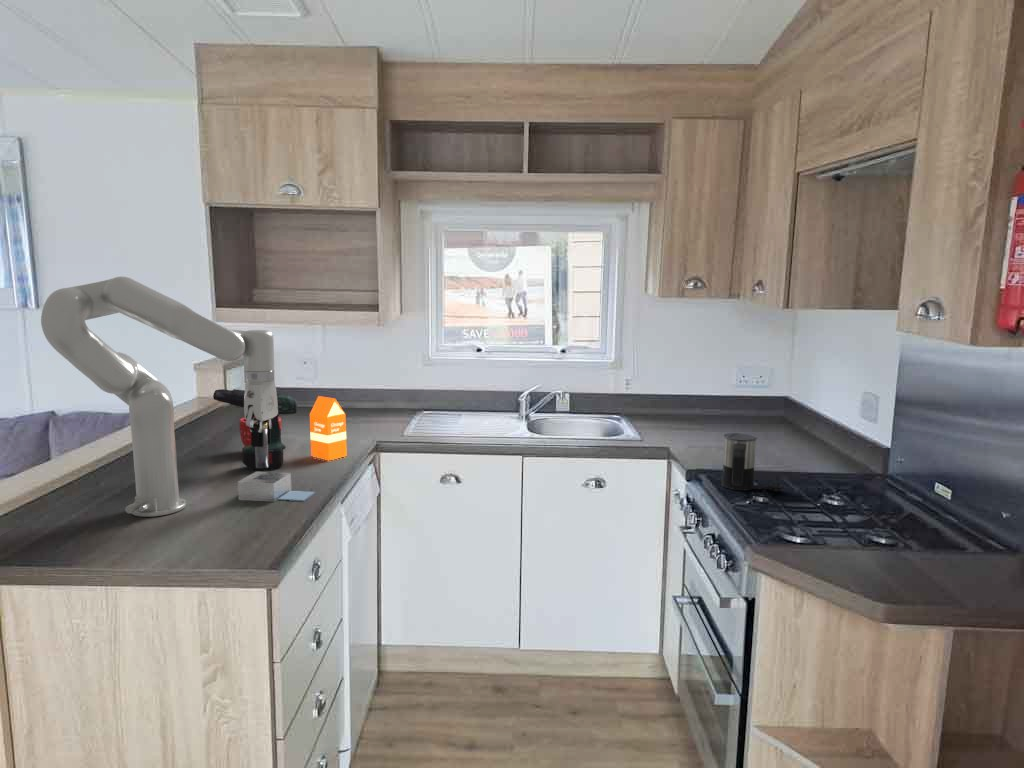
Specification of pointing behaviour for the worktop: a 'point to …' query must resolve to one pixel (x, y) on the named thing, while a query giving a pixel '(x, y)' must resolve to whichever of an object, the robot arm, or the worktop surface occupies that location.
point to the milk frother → (741, 463)
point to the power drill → (275, 447)
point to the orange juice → (327, 429)
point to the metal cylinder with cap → (262, 449)
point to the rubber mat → (296, 495)
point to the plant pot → (248, 432)
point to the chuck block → (264, 486)
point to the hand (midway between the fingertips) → (261, 444)
